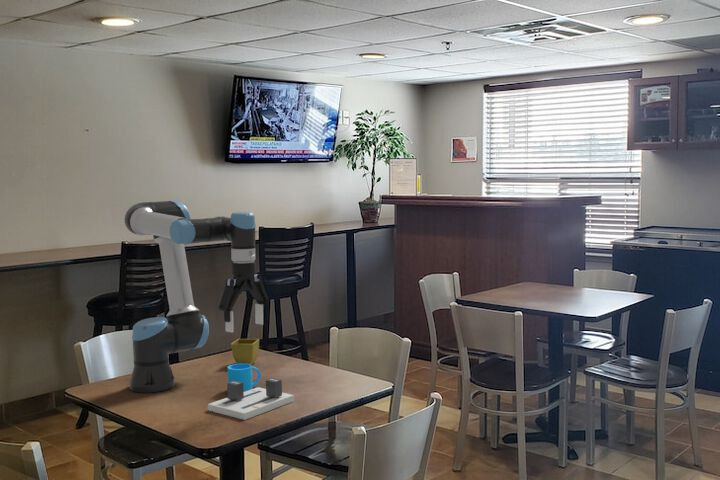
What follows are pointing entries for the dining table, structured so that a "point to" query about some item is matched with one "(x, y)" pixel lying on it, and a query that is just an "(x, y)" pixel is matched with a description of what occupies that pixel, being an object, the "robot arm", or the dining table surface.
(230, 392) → the fader
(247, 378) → the mug
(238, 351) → the flower pot
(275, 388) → the fader
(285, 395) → the console
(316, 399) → the dining table surface
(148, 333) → the robot arm
